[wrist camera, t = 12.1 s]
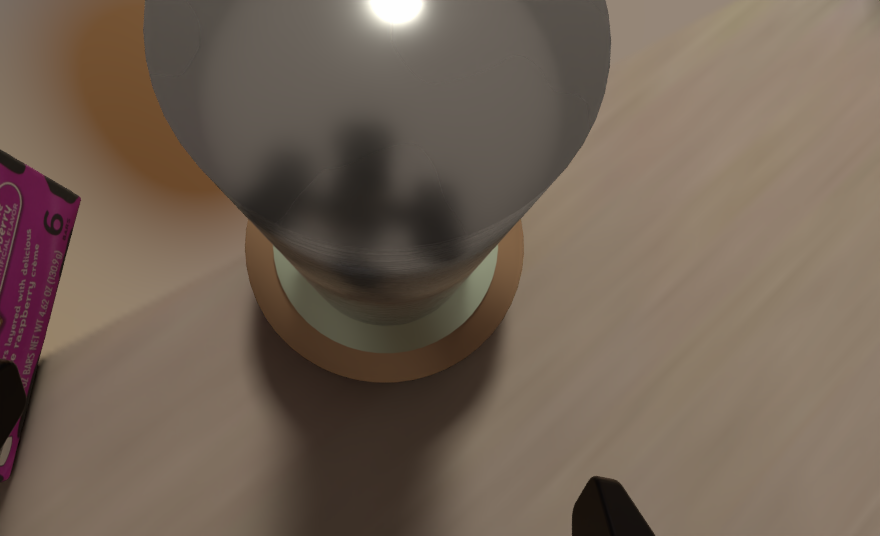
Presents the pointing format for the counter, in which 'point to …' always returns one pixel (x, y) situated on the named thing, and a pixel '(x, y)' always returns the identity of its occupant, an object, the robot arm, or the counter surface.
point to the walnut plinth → (376, 346)
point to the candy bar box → (29, 270)
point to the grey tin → (380, 127)
